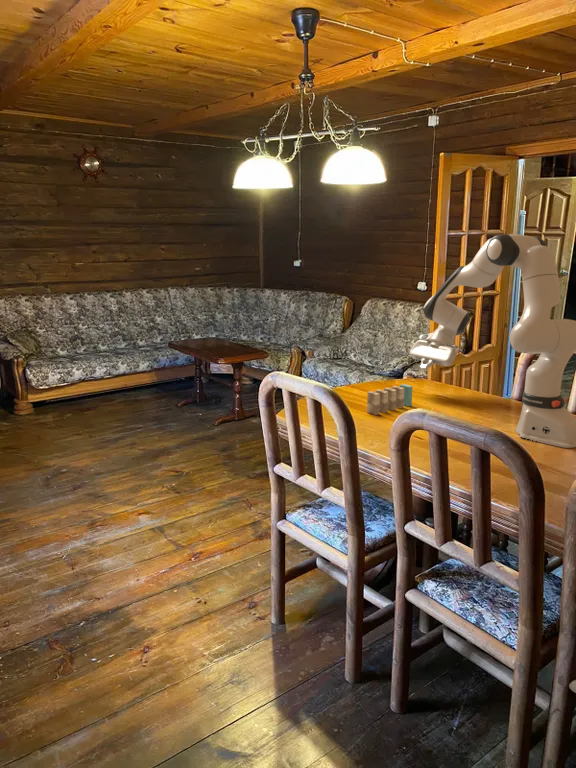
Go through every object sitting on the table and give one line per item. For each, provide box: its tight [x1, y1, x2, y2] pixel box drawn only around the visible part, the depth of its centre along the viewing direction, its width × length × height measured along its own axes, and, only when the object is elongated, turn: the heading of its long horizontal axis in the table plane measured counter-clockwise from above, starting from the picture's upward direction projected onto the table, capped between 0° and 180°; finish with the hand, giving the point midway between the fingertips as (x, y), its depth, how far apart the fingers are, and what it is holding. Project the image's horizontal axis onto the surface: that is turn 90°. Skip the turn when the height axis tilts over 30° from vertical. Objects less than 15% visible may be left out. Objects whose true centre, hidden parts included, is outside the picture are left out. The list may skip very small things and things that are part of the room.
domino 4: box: [391, 385, 405, 409], centre depth 232 cm, size 5×2×8 cm, turn 37°
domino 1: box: [366, 391, 380, 416], centre depth 225 cm, size 5×2×8 cm, turn 37°
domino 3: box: [383, 387, 397, 411], centre depth 230 cm, size 5×2×8 cm, turn 37°
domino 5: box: [399, 383, 413, 407], centre depth 235 cm, size 5×2×8 cm, turn 37°
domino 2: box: [375, 389, 388, 414], centre depth 227 cm, size 5×2×8 cm, turn 37°
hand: (422, 369), depth 239 cm, fingers closed
